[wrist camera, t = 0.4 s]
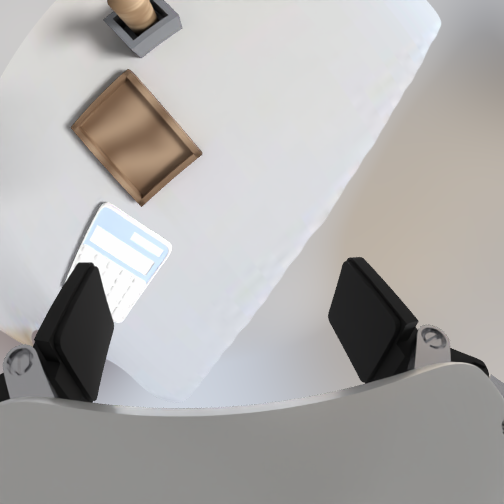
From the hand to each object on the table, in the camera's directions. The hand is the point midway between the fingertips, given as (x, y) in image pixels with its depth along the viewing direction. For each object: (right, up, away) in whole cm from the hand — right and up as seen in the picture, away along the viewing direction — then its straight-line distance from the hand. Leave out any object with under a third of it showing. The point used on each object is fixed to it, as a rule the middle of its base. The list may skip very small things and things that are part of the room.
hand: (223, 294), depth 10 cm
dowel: (-13, +31, +14) cm, 37 cm away
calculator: (-22, -1, +32) cm, 39 cm away
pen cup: (-13, +31, +15) cm, 37 cm away
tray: (-15, +17, +22) cm, 32 cm away
